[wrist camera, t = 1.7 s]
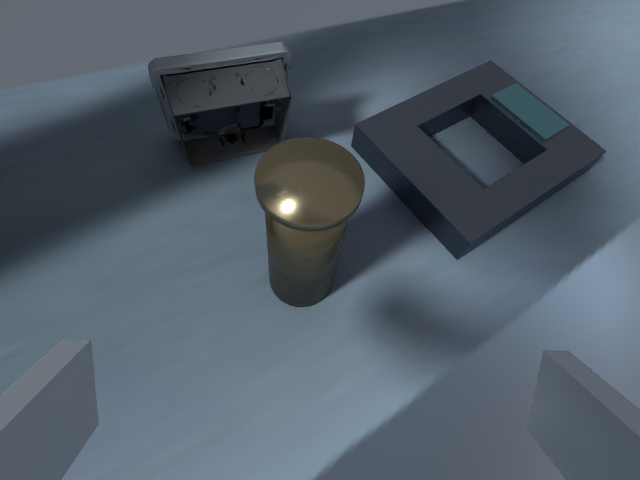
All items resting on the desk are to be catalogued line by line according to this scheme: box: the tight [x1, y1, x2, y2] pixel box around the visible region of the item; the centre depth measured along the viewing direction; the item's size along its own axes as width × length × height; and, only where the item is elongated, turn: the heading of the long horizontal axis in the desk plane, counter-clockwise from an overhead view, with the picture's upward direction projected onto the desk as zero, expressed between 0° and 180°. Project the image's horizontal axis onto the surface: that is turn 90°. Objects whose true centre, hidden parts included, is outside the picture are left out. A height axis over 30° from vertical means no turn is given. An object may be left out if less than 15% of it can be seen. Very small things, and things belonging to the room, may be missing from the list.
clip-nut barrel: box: [254, 137, 365, 307], centre depth 25 cm, size 5×5×11 cm
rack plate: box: [351, 61, 606, 260], centre depth 35 cm, size 16×13×3 cm
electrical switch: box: [148, 42, 292, 166], centre depth 31 cm, size 9×5×9 cm, turn 108°
